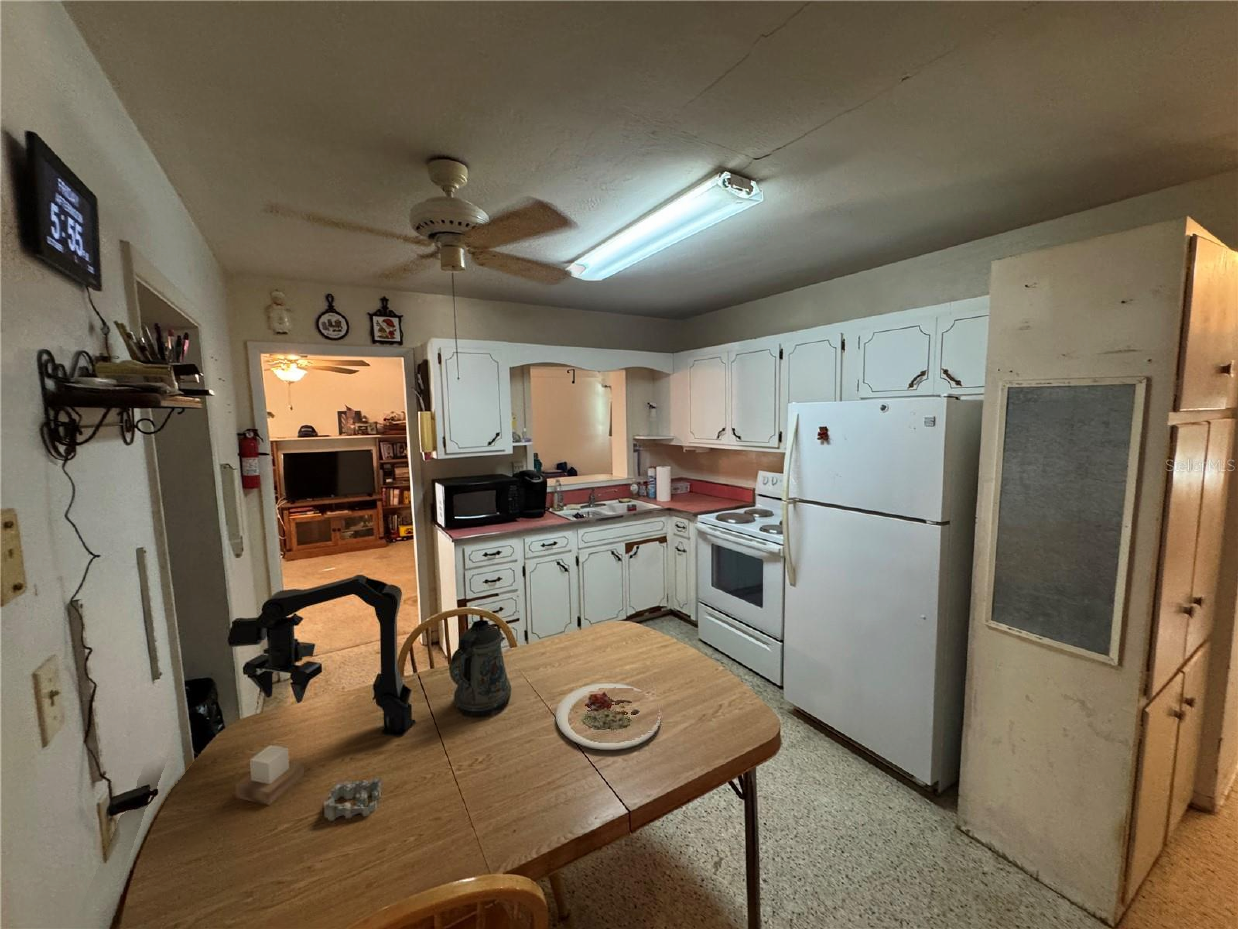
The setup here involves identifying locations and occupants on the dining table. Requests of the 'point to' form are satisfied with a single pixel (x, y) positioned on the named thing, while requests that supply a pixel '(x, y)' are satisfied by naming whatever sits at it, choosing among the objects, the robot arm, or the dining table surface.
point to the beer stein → (480, 672)
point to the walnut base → (269, 785)
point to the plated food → (599, 716)
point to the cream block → (269, 764)
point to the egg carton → (349, 791)
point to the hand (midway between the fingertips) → (284, 699)
